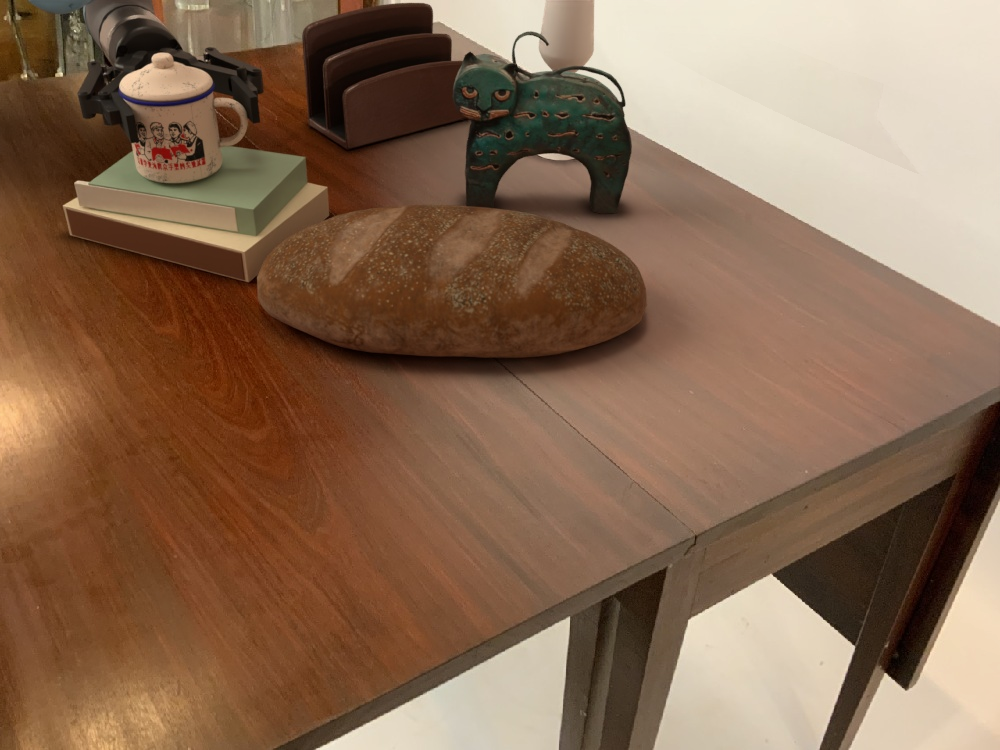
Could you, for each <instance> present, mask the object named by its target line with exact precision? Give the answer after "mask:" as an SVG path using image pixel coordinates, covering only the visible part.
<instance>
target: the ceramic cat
mask: <svg viewBox="0 0 1000 750" xmlns="http://www.w3.org/2000/svg"><path fill="white" fill-rule="evenodd" d="M526 36H534V37H536V38H538V39H539V40H540V39H541V40H542V41H543V42H544V43H546V46H548V45H549V43H548V42H547V40H546V39H545V38H544V36H542V35H541V33H539V32H536V31H532V30H531V31H525V32H523V33H521V34H518V36H516V38H515V40H514V41H513V44H512V49H511V62H510V63H509V62H507V61H506V60H504V59H502V58H501V57H499V56H497V55H493V54H489V53H482V54H477V55H475V53H473V52H472V51H468V52H467V53H466V54H464V57H463V59H462V61H463V62H462V66H461V67H460V69H459V71H458V73H457V76H456V79H455V82H454V88H453V101H454V104H455V106H456V109H457V111H458V112H459V113H460V114H461V115H462V116H464V117H465V118H467V119H466V120H470V126H469V128H468V129H469V130H468V134H467V140H466V146H465V147H466V149H465V167H464V178H465V206H471V207H486V208H494V206H495V198H496V194H497V190H498V188H499V185H500V182H501V180H502V178H503V177H504V175H505V174H506V173H507V172H508V171H509V170H510V169H511V167H512V166H513V165H514V164H515V163H517V162H518V161H519V160H522V159H523V158H528V157H533V156H538V155H539V154H549V153H554V154H562V155H566V156H570V157H572V158H575V160H576V161H577V162H578V163H580V164H581V165H583V167H585V169H586V171H587V172H588V176H589V180H590V189H589V196H588V197H589V198H588V200H589V205H590V209H591V211H592V212H594V213H597V214H600V215H601V214H616V213H618V210H619V206H620V202H621V197H622V194H623V190H624V187H625V183H626V179H627V177H628V174H629V168H630V160H631V157H632V153H633V152H632V150H633V144H632V142H633V141H632V136H631V132H630V130H629V127H628V124H627V122H626V119H625V116H626V115H625V111H624V108H625V107H626V105H627V104H626V99H625V94H624V91H623V87H622V86H621V84H620V83H619V82H618V80H617V79H616V78H615V77H614V76H613V75H612V74H611V73H609V72H606V71H604V70H602V69H599V68H596V67H590V66H586V65H584V66H571V67H565V68H561V69H559V70H554V71H552V70H545V71H544V70H543V71H537V72H528V71H526V70H524V69H522V68H520V67H518V64H517V60H516V53H515V49H516V46H517V42H518V41H519V40H520V39H521V38H524V37H526ZM569 70H578V71H585V72H589V73H591V74H596V75H600V76H603V77H605V78H606V79H608V80H609V81H610V82H611V83H612V84H613V85H614V86H615V87H616V88H617V90H618V91H619V94H620V98H621V101H620V100H619V99H618V97H617V96H616V95H615V94H614V93H613V92H612V90H611V89H610V88H609V87H608V86H606V85H605V84H604V83H602V82H601V81H600V80H598V79H596V78H594V77H592V76H589V75H585V74H581V73H577V72H576V73H573V72H565V71H569Z"/></svg>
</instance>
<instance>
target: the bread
mask: <svg viewBox="0 0 1000 750" xmlns="http://www.w3.org/2000/svg"><path fill="white" fill-rule="evenodd" d="M256 284H257V288H256V289H257V290H256V291H257V300H258V302H259V304H260V305H261V307H262V309H263V310H264V311H265V312H266V313H267V314H268V315H269V316H270V317H272V318H273V319H275V320H277V321H278V322H281V323H283V324H285V325H287V326H289V327H291V328H293V329H296V330H299V331H301V332H303V333H306V334H308V335H310V336H312V337H314V338H316V339H319V340H321V341H323V342H326V343H328V344H331V345H334V346H337V347H340V348H344V349H350V350H354V351H359V352H366V353H375V354H376V353H377V354H390V355H404V356H405V355H407V356H419V357H470V358H534V357H535V358H536V357H547V356H554V355H560V354H565V353H569V352H573V351H576V350H580V349H584V348H587V347H591V346H595V345H598V344H601V343H604V342H607V341H609V340H612V339H615V338H617V337H619V336H621V335H622V334H624V333H626V332H628V331H629V330H631V329H632V328H634V327H635V326H637V325H638V324H639V323H641V322H642V320H643V316H644V314H645V312H646V309H647V306H648V302H647V301H648V299H647V288H646V285H645V281H644V279H643V275H642V274H641V271H640V269H639V267H638V266H637V265H636V263H635V262H634V261H633V260H632V259H631V258H630V257H629V256H628V255H627V254H626V253H624V252H623V251H622V250H621V249H619V248H618V247H616V246H615V245H613V244H612V243H610V242H608V241H606V240H604V239H603V238H601V237H599V236H596V235H594V234H592V233H590V232H588V231H585V230H581V229H578V228H576V227H573V226H570V225H569V224H566V223H564V222H561V221H558V220H554V219H551V218H548V217H545V216H542V215H541V216H540V215H538V214H534V213H529V212H525V211H519V210H511V209H503V208H502V209H501V208H494V207H493V208H486V207H471V206H466V205H455V204H435V203H433V204H410V205H403V206H382V207H374V208H367V209H360V210H355V211H350V212H346V213H342V214H337V215H334V216H332V217H328V218H326V219H325V220H323V221H322V222H319V223H317V224H315V225H312V226H310V227H308V228H306V229H303V230H301V231H299V232H297V233H295V234H293V235H292V236H290V237H289V238H287V239H286V240H284V241H283V242H281V243H280V244H279V245H278V246H276V247H275V248H274V250H273V251H272V252H271V253H270V254H269V255H268V256H267V257H266V259H265V261H264V262H263V264H262V266H261V269H260V271H259V274H258V275H257V276H256Z"/></svg>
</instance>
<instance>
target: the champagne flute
mask: <svg viewBox="0 0 1000 750" xmlns="http://www.w3.org/2000/svg"><path fill="white" fill-rule="evenodd" d="M544 3H545V4H544V10H543V16H542V22H541V28H540V34H541V35H542V36H544V38H545V39H546V40H547V42H548V43H549V45H548V46H546V43H544V42H543V41H542V40H541V39H540V38H539V42H538V52H539V54H540V57H541V58H542V60H543V61H544V63H545V65H547V66H548V68H550V71H554V70H559V69H561V68H565V67H571V66H586V64H587V63H588V62H589V61H590V59H591V58H592V56H593V54H594V51H595V0H545V2H544ZM565 72H573V73H577V72H579V70H569V71H565ZM537 156H538V157H542V158H543V159H547V160H552V161H553V160H554V161H571V160H574V159H575V158H572V157H570V156H566V155H562V154H554V153H549V154H539V155H537ZM575 160H576V159H575Z"/></svg>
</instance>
